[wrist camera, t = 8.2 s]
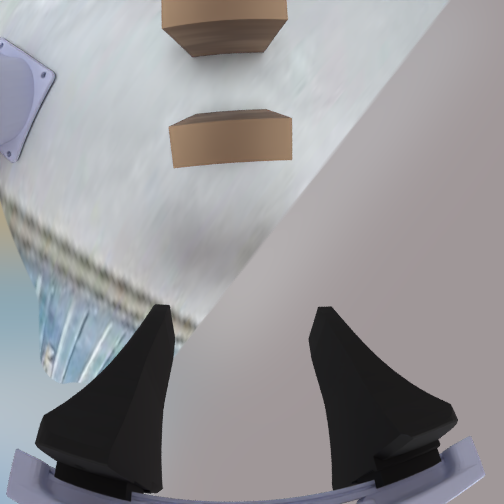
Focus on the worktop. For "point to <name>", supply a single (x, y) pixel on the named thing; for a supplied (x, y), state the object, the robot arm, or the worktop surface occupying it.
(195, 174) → the worktop surface
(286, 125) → the domino
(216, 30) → the domino
